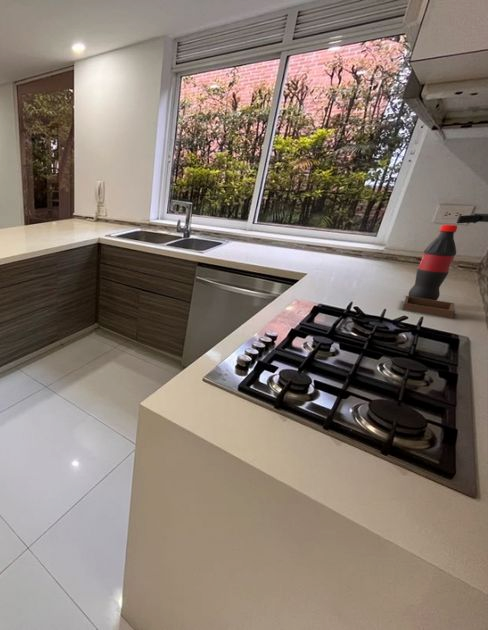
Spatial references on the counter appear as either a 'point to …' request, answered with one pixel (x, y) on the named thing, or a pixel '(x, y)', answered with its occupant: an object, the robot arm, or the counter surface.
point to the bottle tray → (429, 307)
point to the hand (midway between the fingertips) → (476, 222)
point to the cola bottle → (435, 265)
